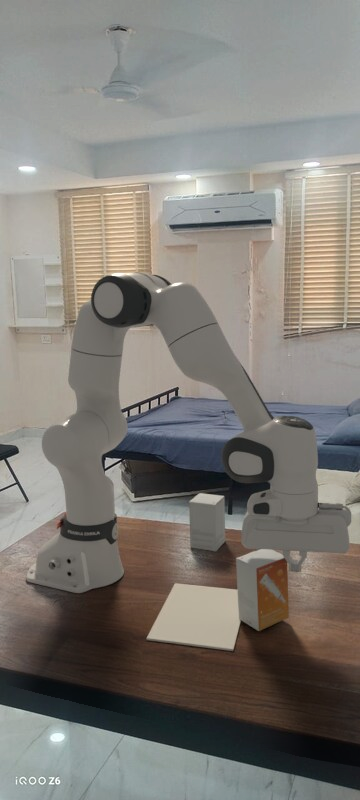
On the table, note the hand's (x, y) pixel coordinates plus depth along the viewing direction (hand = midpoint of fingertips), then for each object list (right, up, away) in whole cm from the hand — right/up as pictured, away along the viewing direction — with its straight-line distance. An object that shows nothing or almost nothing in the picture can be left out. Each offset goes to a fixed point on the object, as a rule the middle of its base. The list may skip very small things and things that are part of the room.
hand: (295, 570), depth 113 cm
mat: (-18, -11, +6) cm, 22 cm away
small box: (-6, -11, +3) cm, 12 cm away
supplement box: (-15, -5, +40) cm, 43 cm away
